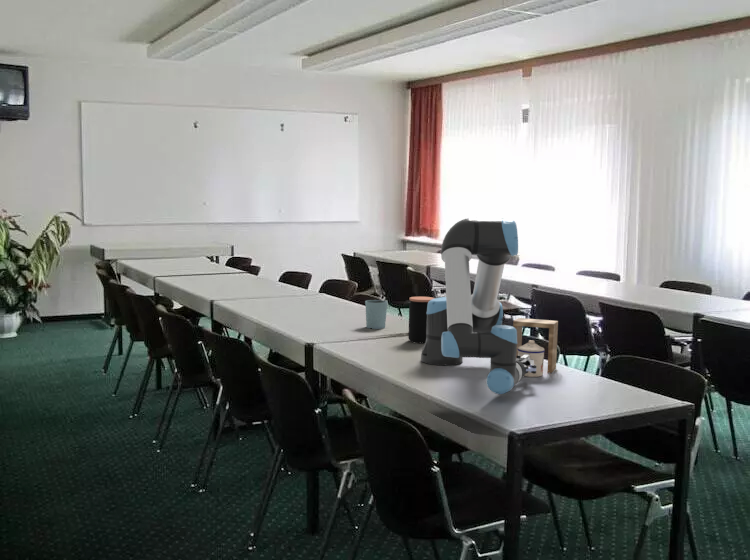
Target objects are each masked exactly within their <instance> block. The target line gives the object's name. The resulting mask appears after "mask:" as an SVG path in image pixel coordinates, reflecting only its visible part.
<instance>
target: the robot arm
mask: <svg viewBox="0 0 750 560" xmlns="http://www.w3.org/2000/svg"><path fill="white" fill-rule="evenodd" d="M440 249H441V250H440V251H441V252H440V255H441V256H440V257H441V261H442V262H444V272H445V274H444V275H445V278H444V279H445V294H446V295H445V296H442V297H441V296H440V297H434V298H435V299H432V300H430V301H429V302H428V305H427V312H426V314H427V331H426V342H425V343H424V346H423V348H422V351H421V353H420V361H421V362H422V363H424V364H428V365H434V366H452V365H453V366H454V365H455V366H456V365H459V364H460V365H461V364H462V363H463V361H464V360H463V359H464V358H477V359H478V358H479V359H490V361H489V363H490V366H489V367H490V370H489V373H488V375H487V377H486V385H487V387H488V389H489V390H490V391H491V392H492V393H494V394H495V395H496V394H497V395H503V394H506V393H508V392H510V391H511V390H512V389H513V388H514V387H515V386H516V385H517V384H518V383H519V382H520V381H521V380H523V378H524V377H525V376H524V375H525V374H526V373H528V371H530V373H533V374H535V373H536V365H535V364H534V360H533V359H530V354H524V355H523V356H522V357H521V358H520V356H517V358H516V353H517V330H516V329H515V328H514V327H513V325H505V324H503V317H504V308H503V304H502V303H501V301H500V300H499V299H498V297H499V296H498V295H499V292H500V287H501V281H502V279H503V273H504V269H505V268H504V267H505V265H506V264H507V263H508V262H510V260H511V258H512V257H514V256H517V255H518V253H519V236H518V228H517V222H516V221H515V220H513V219H508V218H469V217H468V218H464V219H461V220H458V221H457V222H456V223H454V224H453V225H452V227H450V228H449V229H448V231H447V233H446V234H445V236H444V238H443V240H442V243H441V247H440ZM473 256H476V258H477V259H478V264H477V267H476V268H477V269H476V274H475V281H474V286H473V293H472V292H471V277H470V275H471V272H470V261H471V259H472V257H473ZM528 365H529V366H530V367H529V368H528Z"/></svg>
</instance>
